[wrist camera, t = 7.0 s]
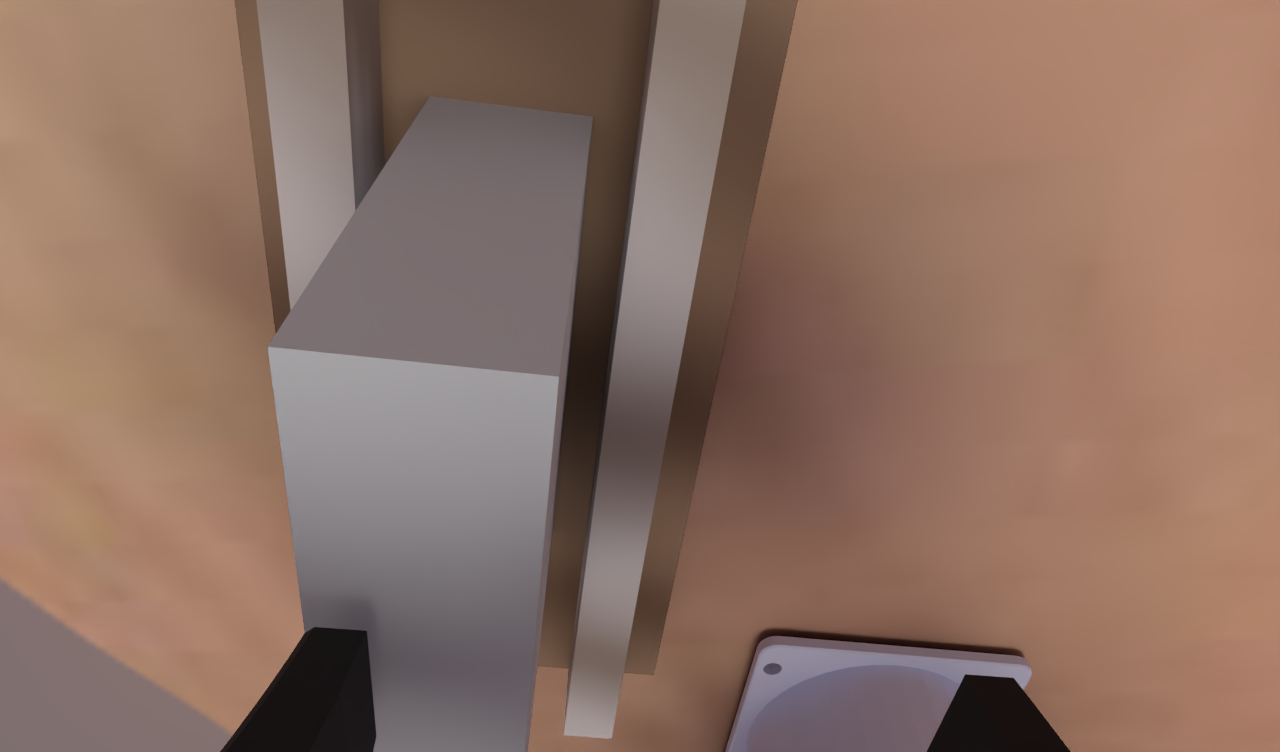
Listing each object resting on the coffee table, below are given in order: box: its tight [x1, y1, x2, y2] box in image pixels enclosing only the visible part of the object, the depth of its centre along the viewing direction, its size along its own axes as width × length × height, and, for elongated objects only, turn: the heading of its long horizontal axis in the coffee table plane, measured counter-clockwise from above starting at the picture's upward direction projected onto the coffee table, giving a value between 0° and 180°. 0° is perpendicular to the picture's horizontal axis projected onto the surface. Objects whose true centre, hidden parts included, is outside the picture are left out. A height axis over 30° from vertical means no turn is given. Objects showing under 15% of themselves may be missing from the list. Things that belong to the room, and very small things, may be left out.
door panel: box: [268, 96, 593, 752], centre depth 15 cm, size 10×3×8 cm, turn 173°
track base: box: [235, 0, 798, 739], centre depth 18 cm, size 18×9×4 cm, turn 173°
